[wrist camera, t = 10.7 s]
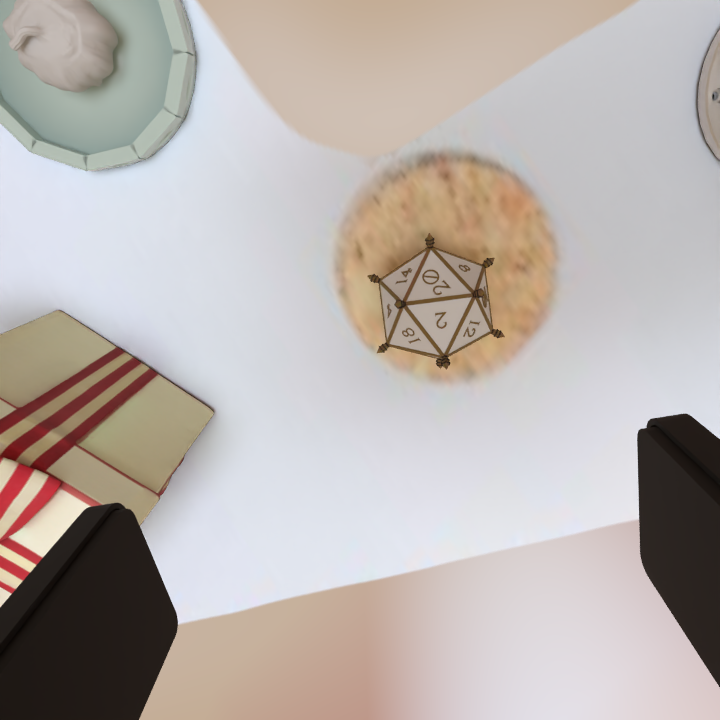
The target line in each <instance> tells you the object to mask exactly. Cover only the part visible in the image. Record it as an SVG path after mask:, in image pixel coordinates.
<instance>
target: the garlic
mask: <svg viewBox="0 0 720 720" xmlns="http://www.w3.org/2000/svg"><path fill="white" fill-rule="evenodd" d="M3 28H4V30H5V32H6V34H7V35H8V37H9V38H10V39H11V40H10V41H9V46H10V47H11V49H13V50H14V51H17V52H18V58H19V61H20V63H21V64H22V65H23V66H24V67H25V68H27V69H28V70H30V71H32V72H34V73H35V74H36V75H37V76H38V78H39V79H40V80H41V81H42V82H44V83H45V84H48V85H51V86H54V87H56V88H58V89H60V90H64V91H72V92H83V91H85V90H87V89H88V88H90V87H91V86H97V87H98V86H100V85H101V84H102V81H103V79H104V78H106V77H107V76H109V75H110V74H111V73H112V71H113V50H114V49H115V47H116V46H117V43H118V38H117V34H116V32H115V31H114V29H113V27H112V25H111V24H110V22H109V21H108V20H107V19H105V18H104V17H103V16H102V15H101V14H99V13H98V12H97V10H96V8H95V7H94V5H93V4H92V3H91V2H89V1H88V0H16V2H15V4H14V9H13V10H12V12H11V14H10V15H9V16H8V17H7V18H6V19H5V20H4V21H3Z"/></svg>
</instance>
